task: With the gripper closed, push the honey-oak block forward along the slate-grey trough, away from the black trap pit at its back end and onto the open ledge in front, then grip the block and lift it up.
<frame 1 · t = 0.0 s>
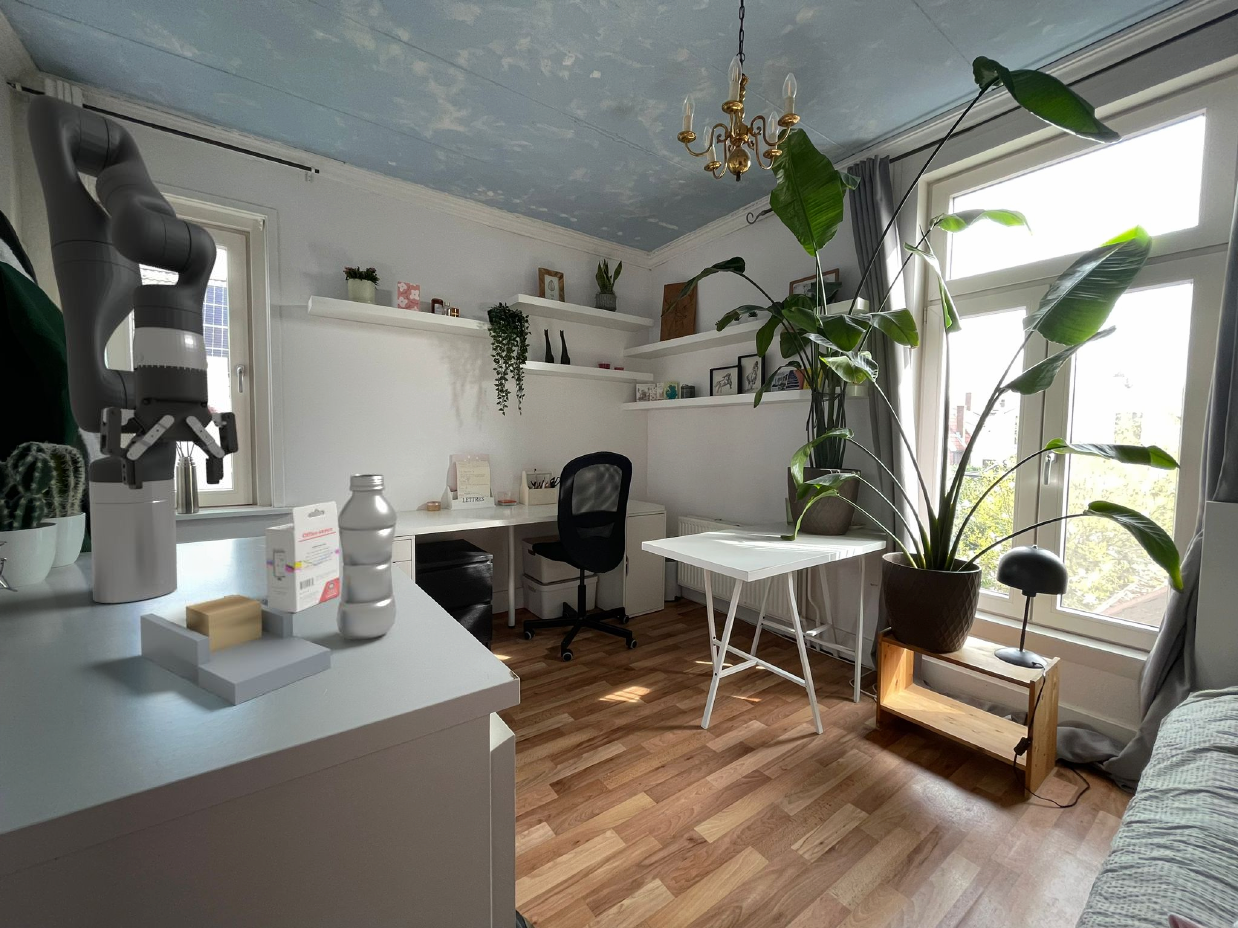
hand: (176, 486, 70), 17 cm above the dresser top, tool pointing down, fingers open, 8 cm apart
trough: (225, 657, 57), on the dresser top
oak block: (224, 639, 57), point 2 cm above the dresser top, touching trough
ink cartridge box: (304, 604, 75), on the dresser top
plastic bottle: (367, 636, 64), on the dresser top
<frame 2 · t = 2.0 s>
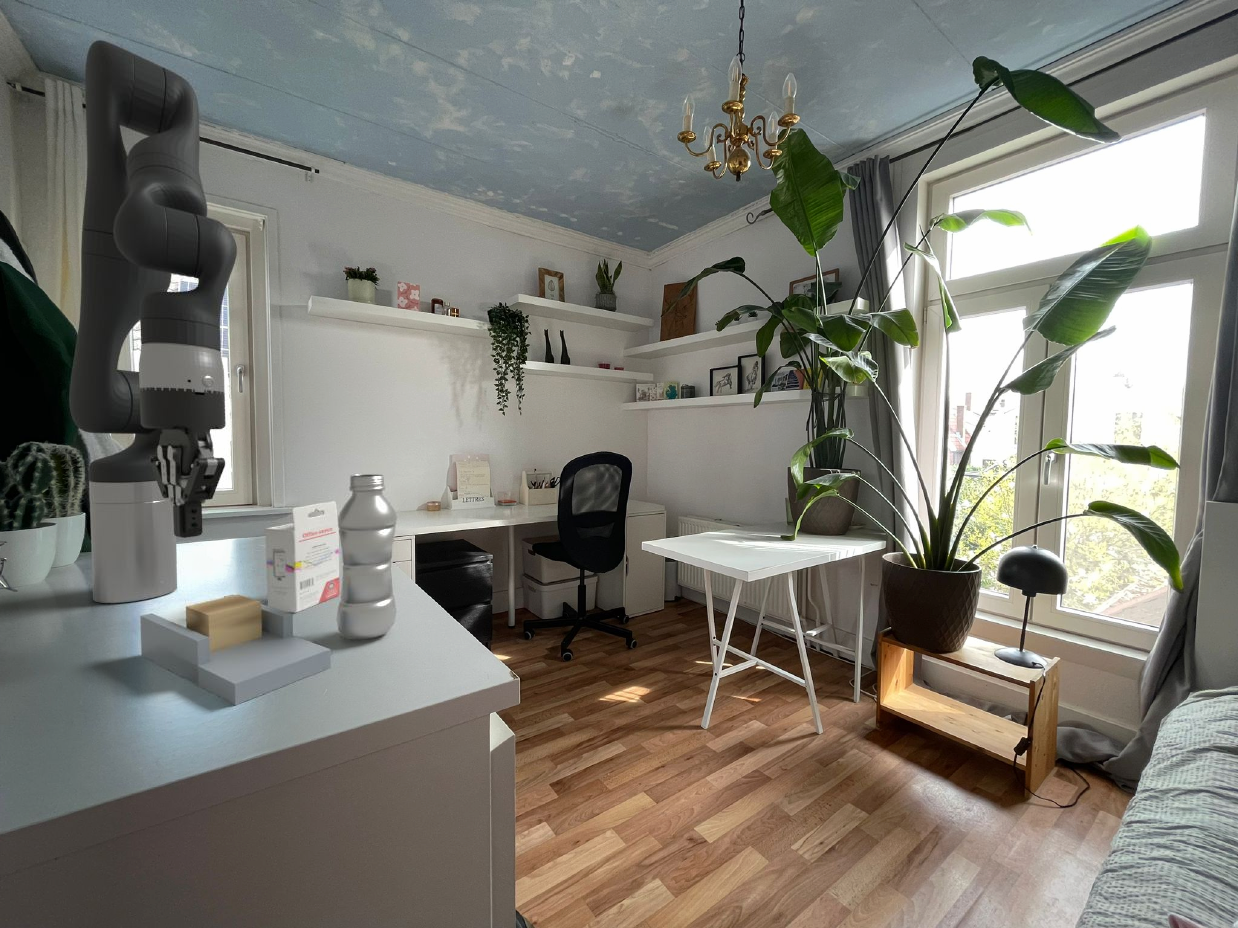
hand: (188, 536, 60), 13 cm above the dresser top, tool pointing down, fingers closed
nothing on the dresser top moved.
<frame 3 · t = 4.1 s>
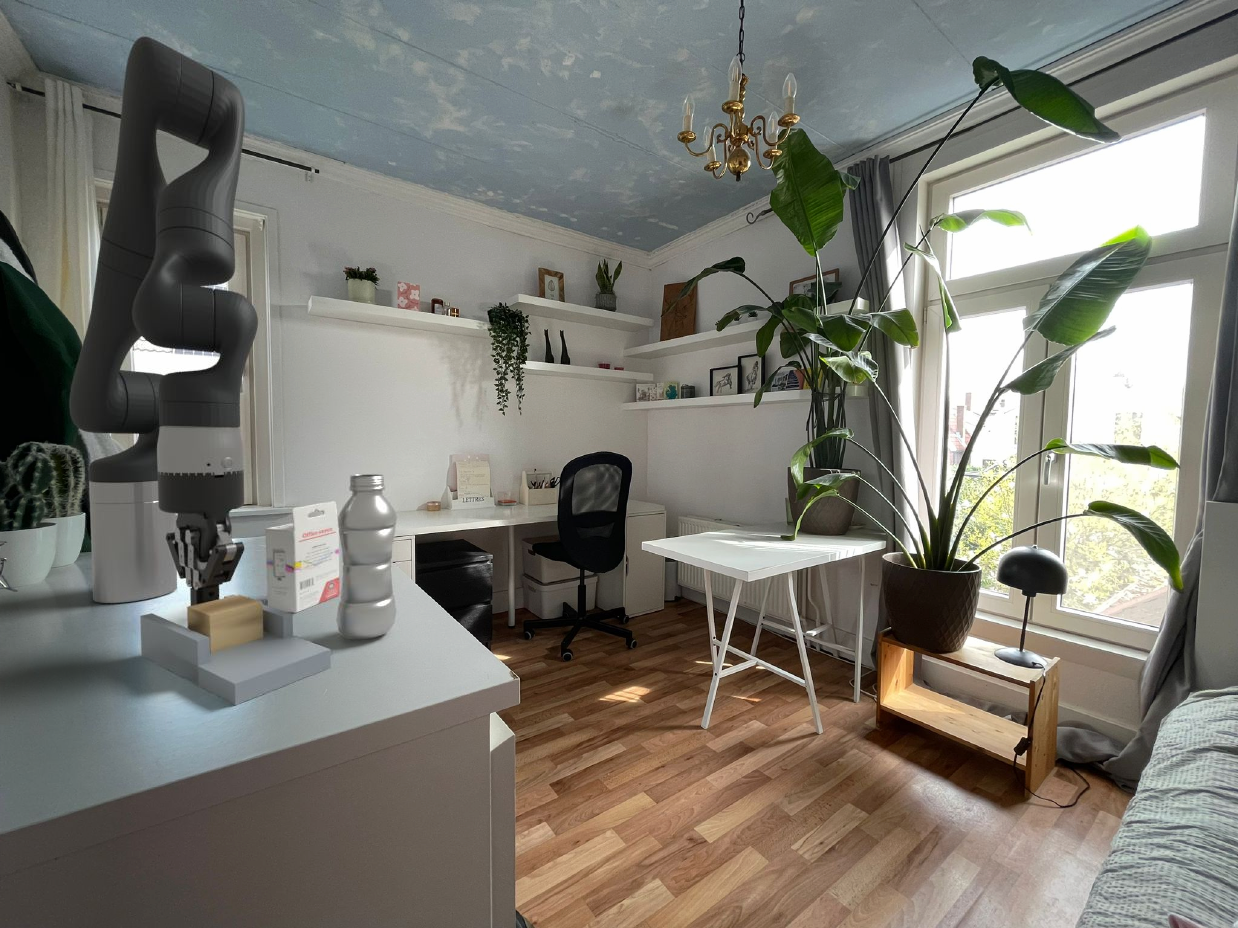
hand: (205, 618, 59), 4 cm above the dresser top, tool pointing down, fingers closed
oak block: (226, 639, 57), point 2 cm above the dresser top, touching gripper, trough
everything else where it was.
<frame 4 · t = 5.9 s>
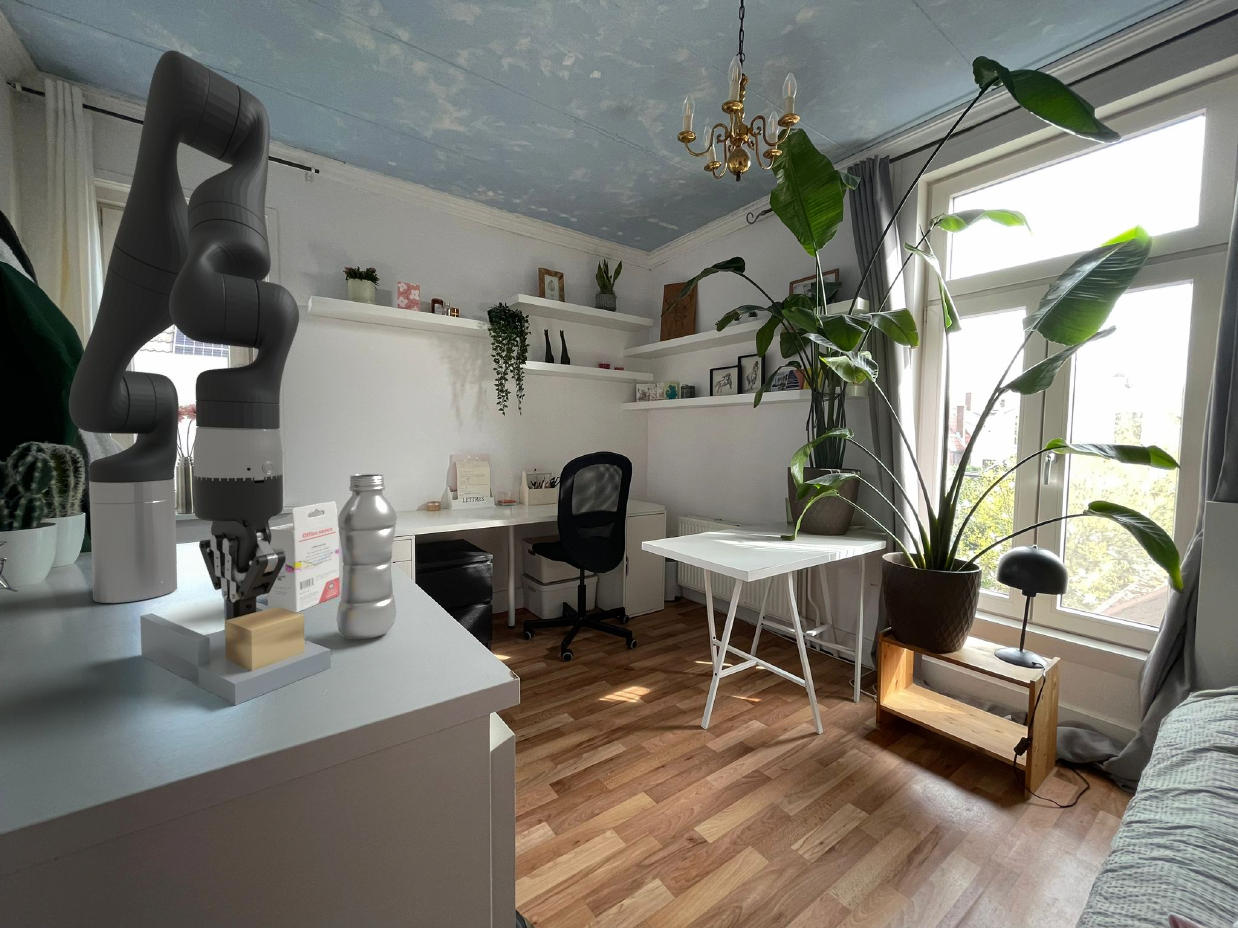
hand: (241, 631, 55), 4 cm above the dresser top, tool pointing down, fingers closed
oak block: (265, 655, 53), point 2 cm above the dresser top, touching gripper, trough
everything else where it was.
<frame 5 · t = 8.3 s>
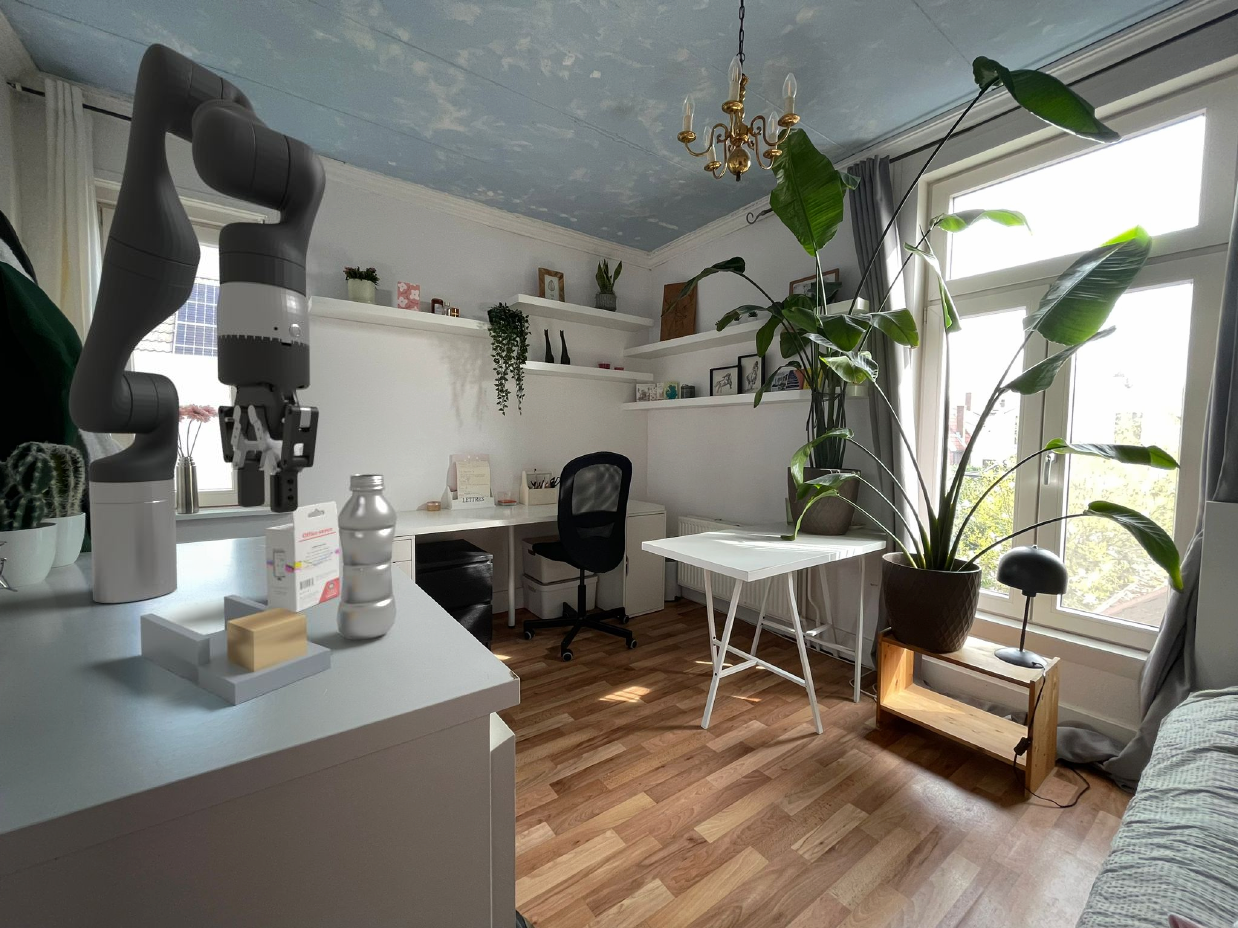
hand: (267, 508, 52), 17 cm above the dresser top, tool pointing down, fingers open, 5 cm apart
oak block: (267, 656, 53), point 2 cm above the dresser top, touching trough
everything else where it was.
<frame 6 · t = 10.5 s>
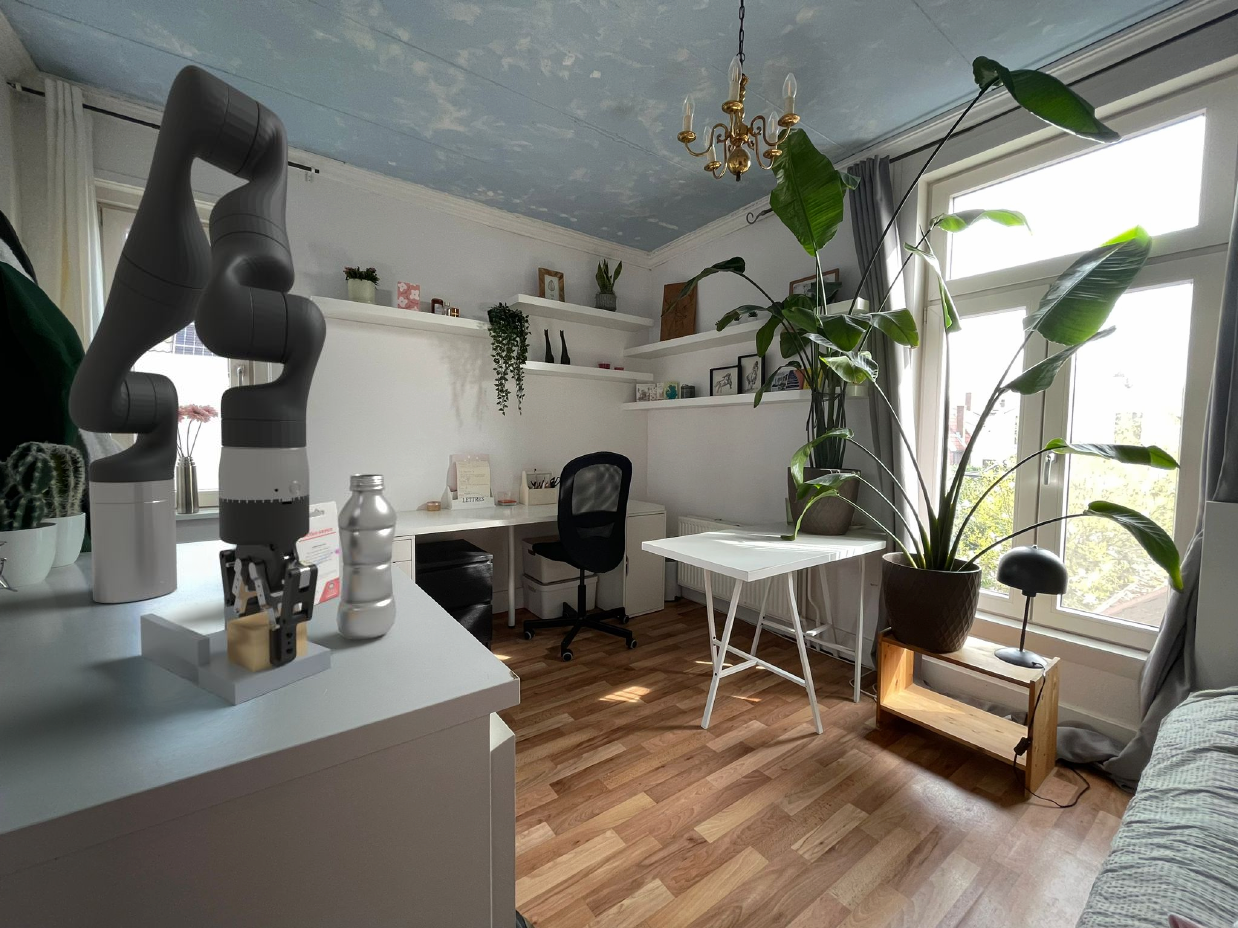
hand: (267, 654, 53), 2 cm above the dresser top, tool pointing down, fingers closed on oak block, 5 cm apart
oak block: (267, 656, 53), point 2 cm above the dresser top, touching gripper, trough
everything else where it was.
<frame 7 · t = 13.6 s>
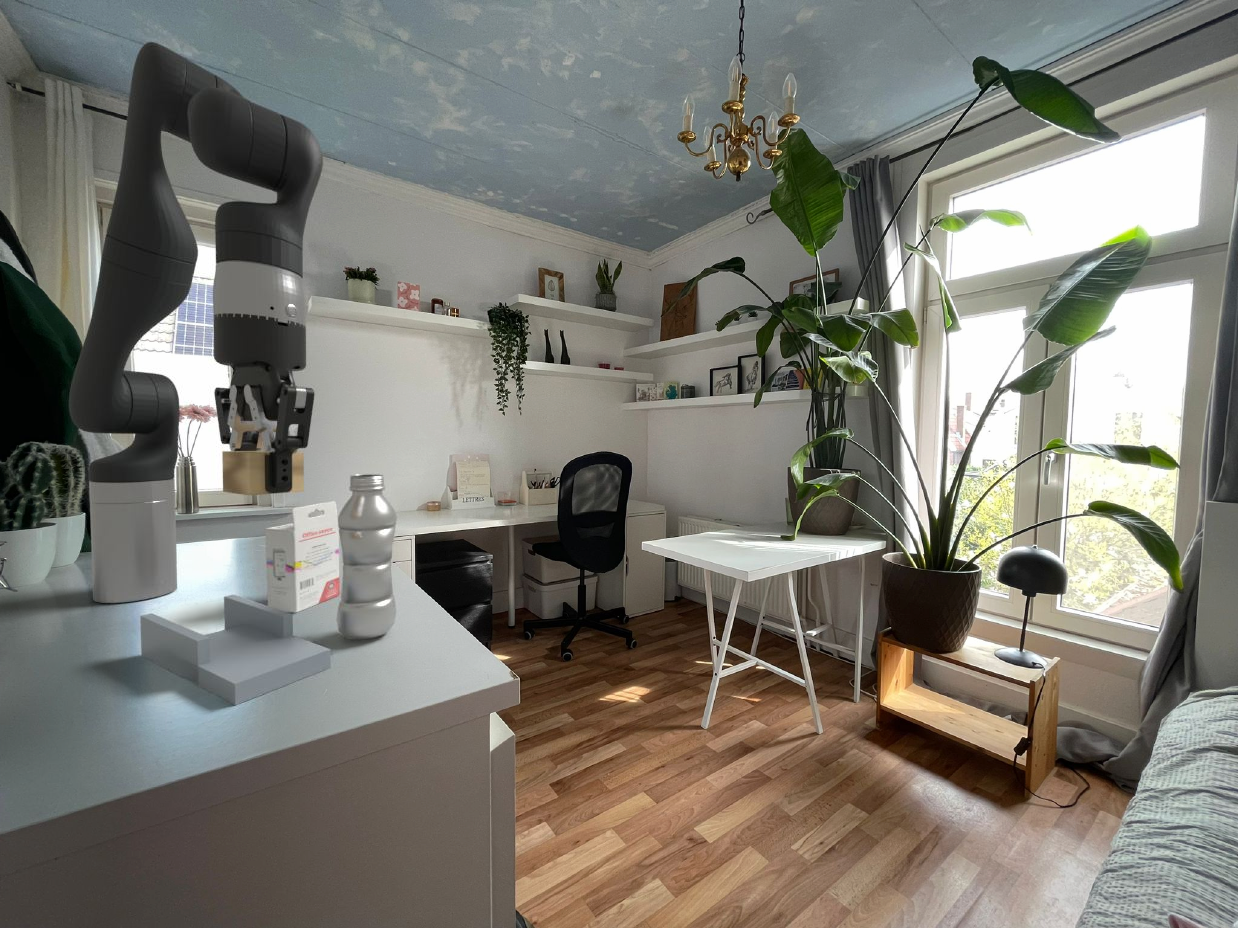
hand: (263, 489, 52), 19 cm above the dresser top, tool pointing down, fingers closed on oak block, 5 cm apart
oak block: (264, 491, 52), point 19 cm above the dresser top, touching gripper
everything else where it was.
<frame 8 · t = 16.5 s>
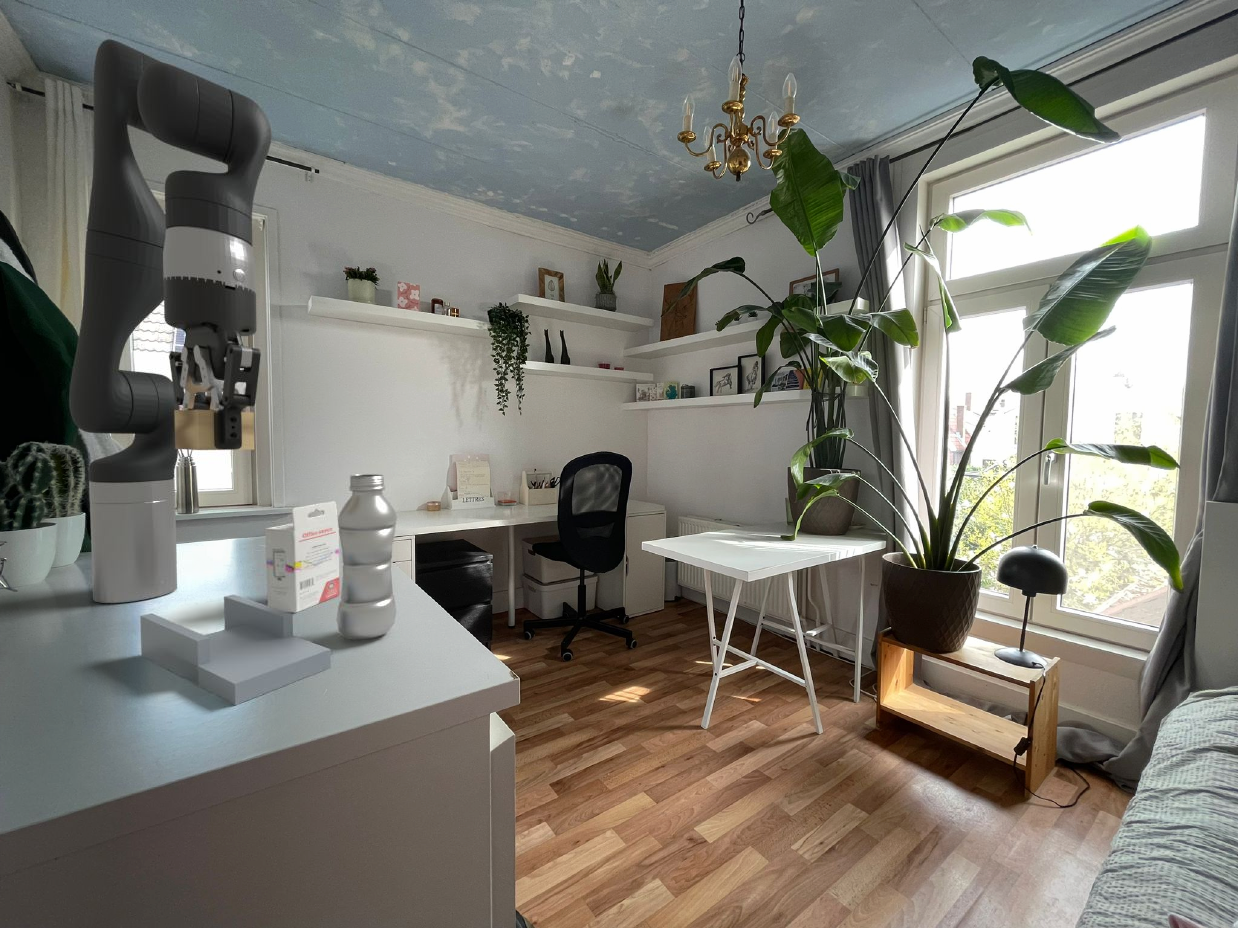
hand: (214, 447, 54), 23 cm above the dresser top, tool pointing down, fingers closed on oak block, 5 cm apart
oak block: (215, 449, 54), point 23 cm above the dresser top, touching gripper
everything else where it was.
at the end: the gripper is holding oak block; oak block point 23.1 cm above the dresser top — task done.
